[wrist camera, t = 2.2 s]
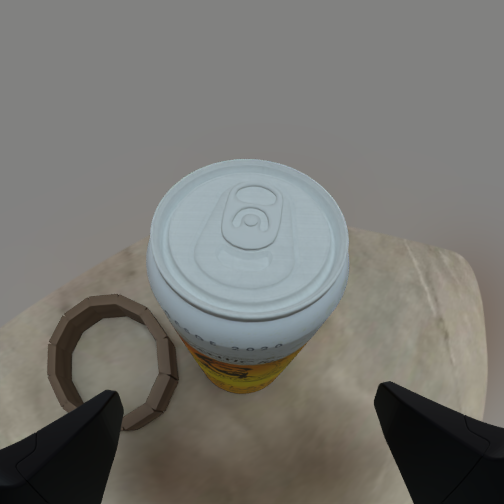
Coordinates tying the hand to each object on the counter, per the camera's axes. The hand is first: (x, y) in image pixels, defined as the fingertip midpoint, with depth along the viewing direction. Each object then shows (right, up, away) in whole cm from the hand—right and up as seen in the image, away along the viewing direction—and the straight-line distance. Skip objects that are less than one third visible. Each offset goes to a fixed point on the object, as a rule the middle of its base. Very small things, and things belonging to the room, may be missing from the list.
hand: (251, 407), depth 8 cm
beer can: (-1, -3, +12) cm, 12 cm away
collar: (-10, -4, +10) cm, 15 cm away
